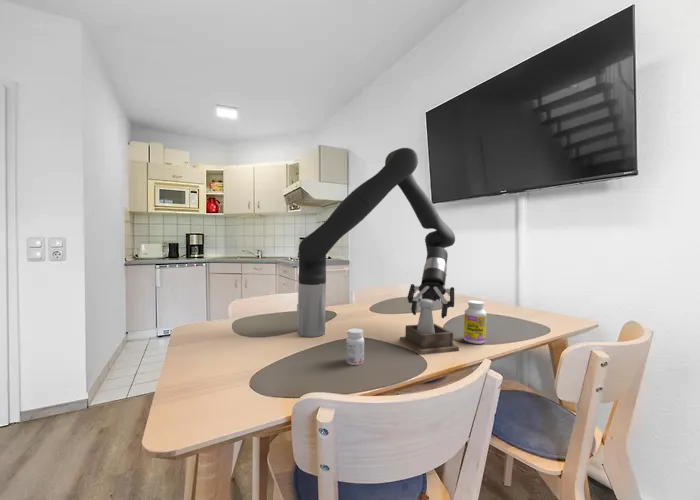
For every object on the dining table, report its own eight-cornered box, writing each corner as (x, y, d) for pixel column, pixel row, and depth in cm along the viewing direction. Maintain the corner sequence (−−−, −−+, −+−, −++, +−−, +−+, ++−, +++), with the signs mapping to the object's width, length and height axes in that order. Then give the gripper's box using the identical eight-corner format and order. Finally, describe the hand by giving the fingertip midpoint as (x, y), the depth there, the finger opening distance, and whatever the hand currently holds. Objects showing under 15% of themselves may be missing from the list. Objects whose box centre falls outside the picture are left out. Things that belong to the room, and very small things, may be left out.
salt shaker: (435, 344, 96) (436, 301, 96) (416, 342, 97) (417, 300, 97) (434, 338, 102) (435, 298, 101) (415, 336, 103) (417, 297, 102)
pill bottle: (359, 357, 87) (360, 327, 87) (366, 364, 83) (367, 332, 83) (343, 359, 86) (344, 328, 85) (349, 366, 81) (350, 333, 81)
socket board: (419, 354, 90) (420, 337, 90) (399, 339, 103) (400, 324, 103) (458, 350, 94) (459, 333, 94) (435, 337, 107) (435, 322, 106)
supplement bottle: (462, 342, 102) (464, 302, 101) (463, 336, 108) (465, 299, 107) (485, 345, 99) (487, 304, 98) (485, 339, 105) (486, 300, 105)
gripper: (412, 265, 107) (403, 305, 97) (456, 267, 102) (452, 310, 92) (414, 279, 112) (406, 319, 102) (457, 282, 107) (453, 324, 97)
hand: (428, 315), depth 97 cm, fingers open, 8 cm apart
